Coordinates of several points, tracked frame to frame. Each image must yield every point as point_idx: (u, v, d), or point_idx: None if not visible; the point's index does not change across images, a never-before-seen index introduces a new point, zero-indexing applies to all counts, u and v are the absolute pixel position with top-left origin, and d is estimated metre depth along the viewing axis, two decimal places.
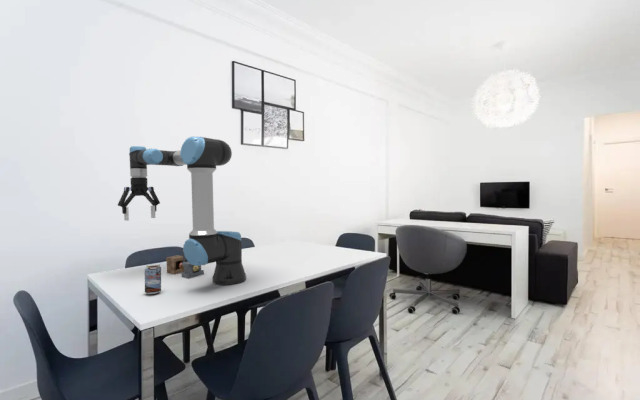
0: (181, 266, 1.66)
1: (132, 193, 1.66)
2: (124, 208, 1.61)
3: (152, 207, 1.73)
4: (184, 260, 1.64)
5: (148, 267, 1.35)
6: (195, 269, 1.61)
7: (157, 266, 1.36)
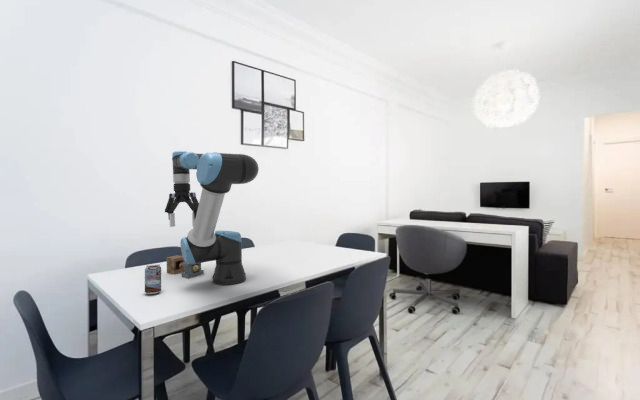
0: (181, 266, 1.66)
1: None
2: None
3: None
4: None
5: (148, 267, 1.35)
6: (195, 269, 1.61)
7: (157, 266, 1.36)
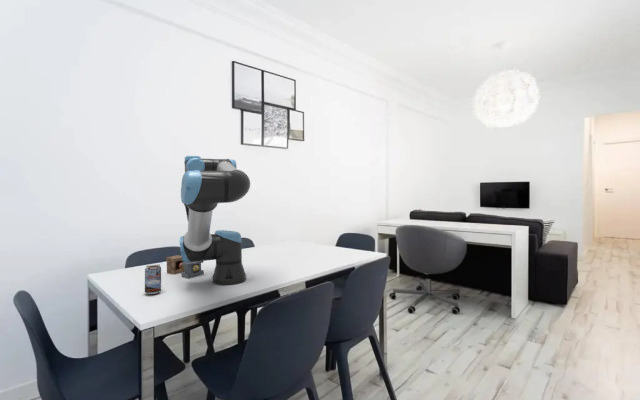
0: (181, 266, 1.66)
1: None
2: None
3: None
4: None
5: (148, 267, 1.35)
6: (195, 269, 1.61)
7: (157, 266, 1.36)
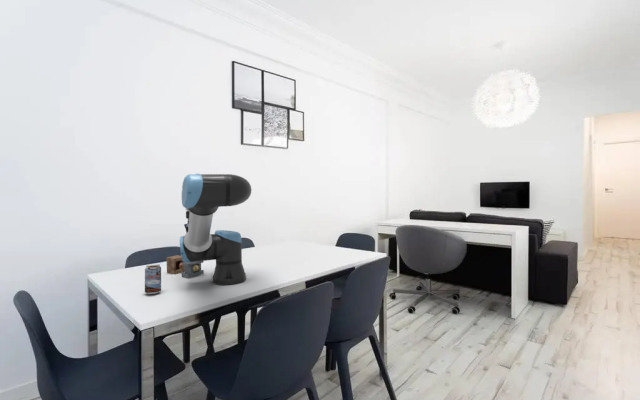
0: (181, 266, 1.66)
1: None
2: None
3: None
4: None
5: (148, 267, 1.35)
6: (195, 269, 1.61)
7: (157, 266, 1.36)
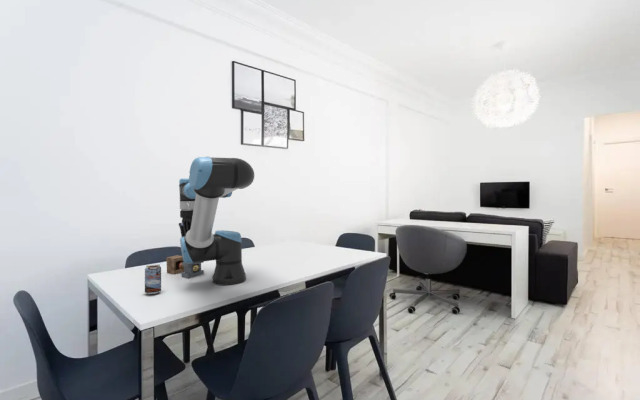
0: (181, 266, 1.66)
1: None
2: None
3: None
4: None
5: (148, 267, 1.35)
6: (195, 269, 1.61)
7: (157, 266, 1.36)
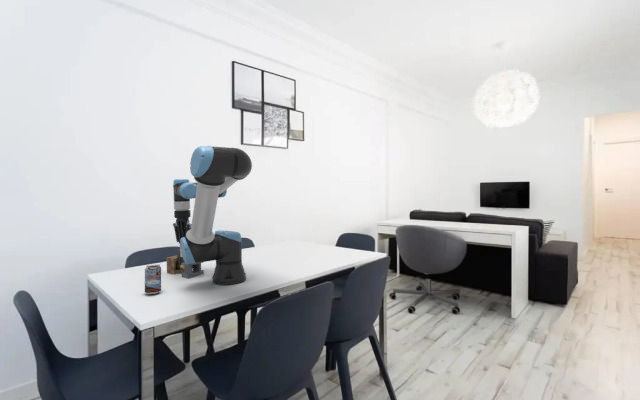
0: (176, 265, 1.68)
1: None
2: (180, 244, 1.67)
3: None
4: (178, 259, 1.66)
5: (148, 267, 1.35)
6: None
7: (157, 266, 1.36)
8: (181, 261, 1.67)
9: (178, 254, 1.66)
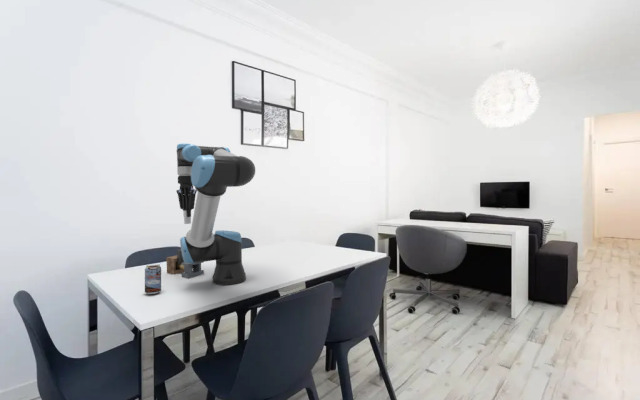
0: (176, 265, 1.68)
1: None
2: (184, 211, 1.63)
3: None
4: (178, 259, 1.66)
5: (148, 267, 1.35)
6: None
7: (157, 266, 1.36)
8: (181, 261, 1.67)
9: (178, 254, 1.66)
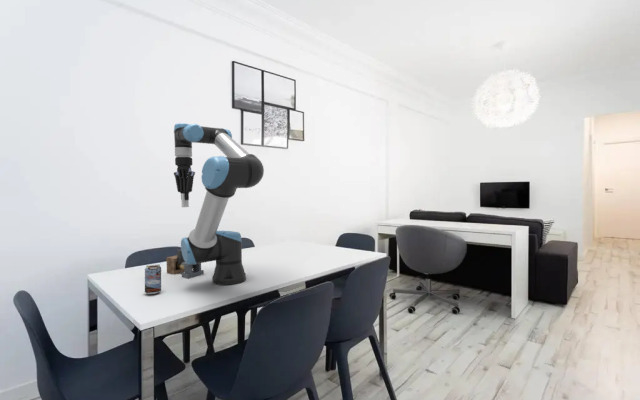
0: (176, 265, 1.68)
1: None
2: None
3: None
4: (178, 259, 1.66)
5: (148, 267, 1.35)
6: None
7: (157, 266, 1.36)
8: (181, 261, 1.67)
9: (178, 254, 1.66)
